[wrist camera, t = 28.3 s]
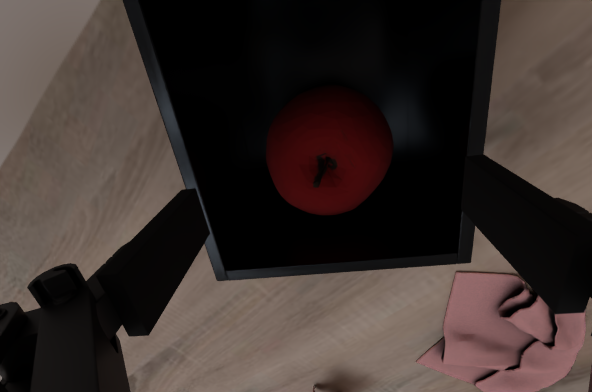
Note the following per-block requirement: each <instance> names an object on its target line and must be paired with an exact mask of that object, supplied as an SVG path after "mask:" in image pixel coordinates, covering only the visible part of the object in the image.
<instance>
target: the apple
mask: <svg viewBox="0 0 592 392" xmlns="http://www.w3.org/2000/svg"><path fill="white" fill-rule="evenodd" d="M393 148H394V144H393V137H392V133H391V130H390V127H389V125H388V122H387V120H386V118H385V116H384V115H383V113H382V112H381V110H380V109H379V107H378V106H377V105H376V104H375V103H374V102H373V101H372V100H370V99H369V98H368V97H367V96H366V95H364V94H362V93H360V92H358V91H356V90H354V89H350V88H347V87H344V86H341V85H324V86H320V87H315V88H313V89H310V90H308V91H305V92H303V93H300V94H299V95H297V96H296V97H294V98H293V99H292V100H290V101H289V102H288V103H287V104H286V105H285V106H284V107H283V108H282V109H281V110H280V111H279V113H278V114H277V115H276V116H275V118H274V119H273V121H272V123H271V125H270V128H269V132H268V136H267V145H266V162H267V166H268V169H269V172H270V175H271V178H272V180H273V183H274V185H275V187H276V189H277V190H278V192H279V193H280V195H281V196H282V197H283V198H284V199H285V200H286V201H287V202H288V203H290V204H291V205H293V206H295V207H297V208H299V209H300V210H302V211H305V212H307V213H311V214H317V215H337V214H341V213H344V212H348V211H351V210H353V209H354V208H356V207H357V206H359V205H360V204H361V203H362V202H363V201H365V200H366V199H367V198H368V197H369V195H370V194H371V193H372V192H373V191H374V190H375V189H376V188H377V186H378V185H379V184H380V182H381V181H382V180H383V178H384V176H385V174H386V172H387V170H388V168H389V166H390V163H391V159H392V155H393Z"/></svg>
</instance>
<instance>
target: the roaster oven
mask: <svg viewBox="0 0 592 392" xmlns="http://www.w3.org/2000/svg"><path fill="white" fill-rule="evenodd" d="M123 3H124V6H125V9H126V12H127V15H128V18H129V21H130V24H131V27H132V30H133V33H134V36H135V39H136V42H137V45H138V48H139V51H140V54H141V57H142V60H143V62H144V65H145V68H146V71H147V74H148V77H149V80H150V83H151V86H152V89H153V92H154V95H155V98H156V101H157V104H158V107H159V110H160V113H161V116H162V119H163V122H164V125H165V128H166V131H167V134H168V137H169V140H170V143H171V146H172V149H173V151H174V154H175V157H176V160H177V163H178V166H179V169H180V172H181V175H182V178H183V181H184V184H185V187H186V189H193V188H196V191H197V194H198V197H199V200H200V203H201V206H202V209H203V212H204V216H205V219H206V222H207V225H208V228H209V231H210V235H209V236H208V238H207V240H206V241H205V246H206V249H207V252H208V255H209V258H210V261H211V264H212V267H213V270H214V273H215V276H216V279H217V281H225V280H242V279H256V278H269V277H283V276H297V275H311V274H325V273H339V272H352V271H366V270H380V269H394V268H408V267H422V266H435V265H449V264H456V263H457V264H462V263H471V257H472V249H473V240H474V231H475V224H474V223H473V222H472V221H471V220H470V219H469V218H468V217H467V216H466V214H465V213H464V212H463V211H462V210H461V200H462V189H463V178H464V167H465V156H474V155H482V154H483V153H484V144H485V135H486V127H487V118H488V109H489V101H490V92H491V83H492V74H493V66H494V57H495V48H496V40H497V31H498V22H499V14H500V5H501V0H123ZM324 85H341V86H344V87H347V88H350V89H354V90H356V91H358V92H360V93H362V94H364V95H366V96H367V97H368V98H369V99H370V100H372V101H373V102H374V103H375V104H376V105H377V106H378V107H379V109H380V110H381V112H382V113H383V115H384V116H385V118H386V120H387V122H388V125H389V127H390V130H391V133H392V137H393V144H394V148H393V155H392V159H391V163H390V166H389V168H388V170H387V172H386V174H385V176H384V178H383V180H382V181H381V182H380V184H379V185H378V186H377V188H376V189H375V190H374V191H373V192H372V193H371V194H370V195H369V197H368V198H367V199H366V200H365V201H363V202H362V203H361V204H360V205H359V206H357V207H356V208H354V209H353V210H351V211H348V212H344V213H341V214H337V215H317V214H311V213H307V212H305V211H302V210H300V209H299V208H297V207H295V206H293V205H291V204H290V203H288V202H287V201H286V200H285V199H284V198H283V197H282V196H281V195H280V193H279V192H278V190H277V189H276V187H275V185H274V183H273V180H272V178H271V175H270V172H269V169H268V166H267V162H266V145H267V136H268V132H269V128H270V125H271V123H272V121H273V119H274V118H275V116H276V115H277V114H278V113H279V111H280V110H281V109H282V108H283V107H284V106H285V105H286V104H287V103H288V102H289V101H290V100H292V99H293V98H294V97H296V96H297V95H299V94H300V93H303V92H305V91H308V90H310V89H313V88H315V87H320V86H324Z"/></svg>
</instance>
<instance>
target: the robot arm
mask: <svg viewBox="0 0 592 392" xmlns="http://www.w3.org/2000/svg"><path fill="white" fill-rule="evenodd" d="M461 210H462V211H463V212H464V213H465V214H466V216H467V217H468V218H469V219H470V220H471V221H472V222H473V223H474V224H475V226H476V227H477V228H478V229H479V230H480V231H481V232H482V233H483V234H484V236H485V237H486V238H487V239H488V240H489V241H490V242H491V243H492V244H493V245H494V247H495V248H496V249H497V250H498V251H499V252H500V253H501V254H502V255H503V257H504V258H505V259H506V260H507V261H508V262H509V263H510V264H511V265H512V267H513V268H514V269H515V270H516V271H517V272H518V273H519V274H520V275H521V276H522V278H523V279H524V280H525V281H526V282H527V283H528V284H529V285H530V286H531V288H532V289H533V290H534V291H535V292H536V293H537V294H538V295H539V296H540V297H541V299H542V300H543V301H544V302H545V303H546V304H547V305H548V306H549V307H550V309H551V310H552V311H553V312H554V313H555V314H570V313H584V312H585V309H586V306H587V303H588V300H589V297H591V298H592V213H589V212H588V211H587V210H585V209H584V208H582V207H580V206H579V205H577V204H575V203H572V202H569V201H566V200H563V199H560V198H553V197H551V196H549V195H548V194H546V193H545V192H543V191H541V190H540V189H538V188H537V187H535V186H533V185H532V184H530V183H529V182H527V181H525V180H524V179H522V178H520V177H519V176H517V175H516V174H514V173H512V172H511V171H509V170H508V169H506V168H504V167H503V166H501V165H500V164H498V163H496V162H495V161H493V160H491V159H490V158H488V157H487V156H485V155H483V154H482V155H474V156H465V167H464V178H463V189H462V200H461ZM209 235H210V231H209V228H208V225H207V222H206V219H205V216H204V212H203V209H202V206H201V203H200V200H199V197H198V194H197V191H196V188H193V189H184V190H181V191H180V192H179V193H178V194H177V195H176V196H175V197H174V198H173V199H172V200H171V201H170V202H169V203H168V204H167V205H166V206H165V207H164V208H163V209H162V210H161V211H160V212H159V213H158V214H157V215H156V216H155V217H154V218H153V219H152V220H151V221H150V222H149V223H148V224H147V225H146V226H145V227H144V228H143V229H142V230H141V231H140V232H139V233H138V234H137V235H136V236H135V237H134V238H133V239H132V240H131V241H130V242H128V243H127V244H125V245H124V246H122V247H121V248H120V249H118V250H117V251H116V252H115V253H114V254H113V257H110V258H109V259H108V260H107V261H106V264H103V265H102V266H101V267H100V268H99V269H98V270H97V271H96V272H95V273H94V274H93V275H92V276H91V277H90V278H89V279H88V280H87V281H85V279H84V277H83V276H82V274H81V272H80V271H79V269H78V267H77V266H76V264H71V263H70V264H63V265H60V266H57V267H54V268H52V269H50V270H48V271H46V272H44V273H42V274H41V275H39V276H37V277H36V278H35V279H34V280H33V281H32V282H30V284H29V286H28V287H27V288H28V289H29V291H30V292H31V294H32V295H33V296H34V298H35V299H36V301H37V302H38V304H39V305H40V307H41V308H38V309H35V310H31V311H28V312H24V311H23V310H22V308H21V307H20V306H19V304H18V303H17V302H10V303H5V304H2V305H0V375H1V376H2V380H1V382H0V392H130V387H129V383H128V378H127V373H126V368H125V363H124V358H123V354H122V349H121V344H120V340H119V338H118V337H117V335H116V332H117V331H118V330H119V328H120V327H121V325H123V326H124V328H125V330H126V332H127V334H128V336H146V335H149V334H150V332H151V331H152V329H153V328H154V326H155V324H156V323H157V321H158V319H159V318H160V316H161V314H162V313H163V311H164V309H165V308H166V306H167V304H168V303H169V301H170V299H171V298H172V296H173V294H174V293H175V291H176V289H177V288H178V286H179V284H180V283H181V281H182V279H183V278H184V276H185V274H186V273H187V271H188V269H189V268H190V266H191V264H192V263H193V261H194V259H195V258H196V256H197V254H198V253H199V251H200V250H201V248H202V246H203V245H204V243H205V241H206V240H207V238H208V236H209ZM591 336H592V334H591ZM588 392H592V366H591V374H590V382H589V390H588Z"/></svg>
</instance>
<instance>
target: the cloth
mask: <svg viewBox="0 0 592 392" xmlns="http://www.w3.org/2000/svg"><path fill="white" fill-rule="evenodd" d="M443 330H444V337H443V338H442V339H441V340H440V341H439V342H438V343H437V344H436V345H434V346H433V347H431V348H430V349H429V350H428V351H427V352H426V353H425V354H423V355H422V356H421V357H420V358H419V359H418V360H417V361H416V362H417V363H419V364H422V365H424V366H427V367H429V368H431V369H434V370H436V371H439V372H441V373H444V374H447V375H449V376H452V377H454V378H457V379H460V380H463V381H466V382H468V383H471V384H474V385H475V386H476V387H478V388H479V389H480V390H482V391H484V392H536V391H539V390H540V389H541V388H545V387H548V386H550V385H552V384H554V383H555V382H557V381H558V380H560V379H562V378H564V377H565V376H566V375H567V374H568V373H569V372H570V370H571V369H572V367H571V366H572V365H573V364H574V362H575V360H576V356H577V354H578V351H579V350H580V349H581V348H582V345H583V343H584V337H585V330H586V323H585V312H584V313H570V314H555V313H554V312H553V311H552V310H551V309H550V307H549V306H548V305H547V304H546V303H545V302H544V301H543V300H542V299H541V297H540V296H539V295H538V297H537V299H536V301H534V300H533V295H531V294H529V289H528V288H527V286H526V284H525V282H524V281H523V280H521V279H520V278H519V277H518V276H514V275H510V274H496V273H476V272H456V274H455V278H454V282H453V286H452V290H451V294H450V298H449V302H448V306H447V310H446V315H445V319H444V325H443Z"/></svg>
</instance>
